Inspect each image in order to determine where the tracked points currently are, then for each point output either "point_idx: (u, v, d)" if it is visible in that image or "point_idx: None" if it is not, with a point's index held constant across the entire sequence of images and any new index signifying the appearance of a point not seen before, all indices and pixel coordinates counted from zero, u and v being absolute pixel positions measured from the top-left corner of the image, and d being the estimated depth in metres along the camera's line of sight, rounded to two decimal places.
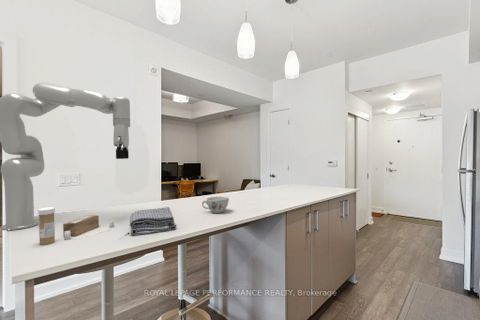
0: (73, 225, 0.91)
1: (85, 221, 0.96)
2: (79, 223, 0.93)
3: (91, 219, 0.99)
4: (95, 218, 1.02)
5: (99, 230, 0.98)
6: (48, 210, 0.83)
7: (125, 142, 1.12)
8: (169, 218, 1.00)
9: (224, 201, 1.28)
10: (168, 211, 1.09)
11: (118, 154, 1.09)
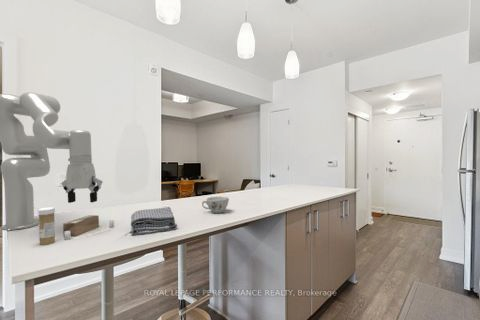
0: (73, 225, 0.91)
1: (85, 221, 0.96)
2: (79, 223, 0.93)
3: (91, 219, 0.99)
4: (95, 218, 1.02)
5: (99, 230, 0.98)
6: (48, 210, 0.83)
7: None
8: (170, 218, 1.00)
9: (224, 201, 1.28)
10: (169, 211, 1.09)
11: (95, 197, 0.96)
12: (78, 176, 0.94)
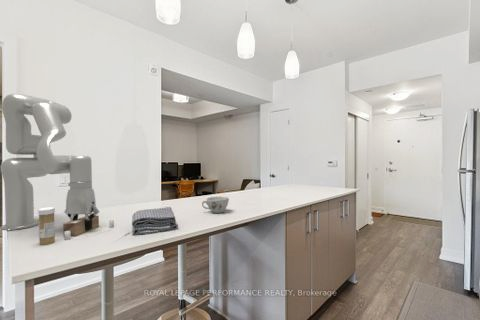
0: (73, 225, 0.91)
1: None
2: (79, 223, 0.93)
3: None
4: (95, 218, 1.02)
5: (99, 230, 0.98)
6: (48, 210, 0.83)
7: None
8: (171, 218, 1.00)
9: (224, 201, 1.28)
10: (170, 211, 1.10)
11: (90, 225, 0.97)
12: (78, 202, 0.94)
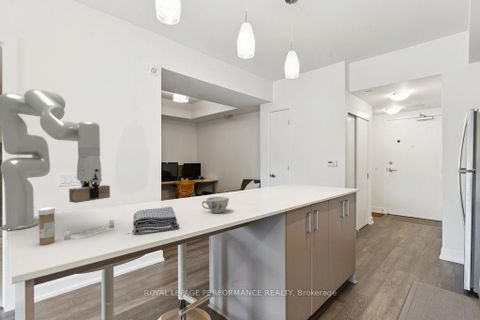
0: (74, 191, 0.89)
1: None
2: (82, 190, 0.91)
3: (99, 188, 0.96)
4: (105, 188, 0.98)
5: (99, 230, 0.98)
6: (48, 210, 0.83)
7: None
8: (172, 217, 1.01)
9: (224, 201, 1.28)
10: (171, 211, 1.10)
11: (94, 193, 0.93)
12: (83, 168, 0.93)
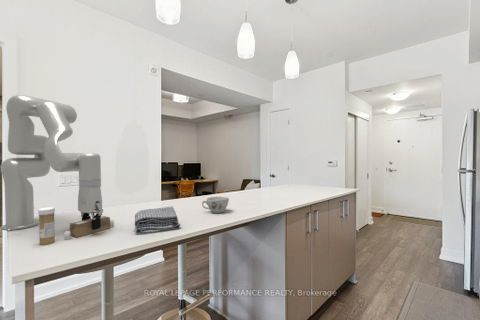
0: (75, 226, 0.89)
1: (90, 223, 0.94)
2: (82, 225, 0.91)
3: None
4: (105, 220, 0.99)
5: None
6: (48, 210, 0.83)
7: None
8: (173, 217, 1.01)
9: (224, 201, 1.28)
10: (172, 210, 1.10)
11: (96, 224, 0.93)
12: (84, 200, 0.93)
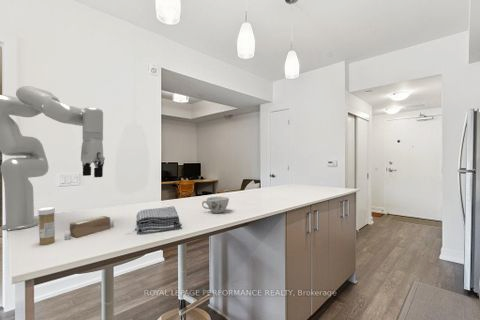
0: (75, 226, 0.89)
1: (90, 223, 0.94)
2: (82, 225, 0.91)
3: (99, 221, 0.97)
4: (105, 220, 0.99)
5: None
6: (48, 210, 0.83)
7: None
8: (174, 217, 1.01)
9: (224, 201, 1.28)
10: (173, 210, 1.10)
11: (98, 172, 0.99)
12: (86, 151, 0.99)
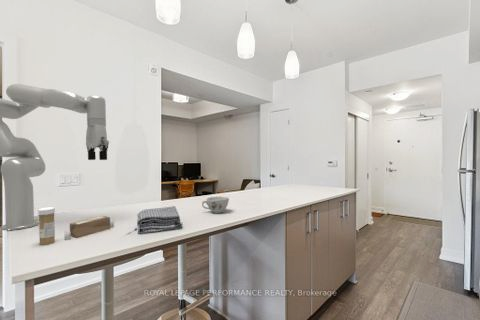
0: (75, 226, 0.89)
1: (90, 223, 0.94)
2: (82, 225, 0.91)
3: (99, 221, 0.97)
4: (105, 220, 0.99)
5: None
6: (48, 210, 0.83)
7: None
8: (175, 217, 1.01)
9: (224, 201, 1.28)
10: (174, 210, 1.11)
11: (103, 155, 1.07)
12: (91, 136, 1.07)
